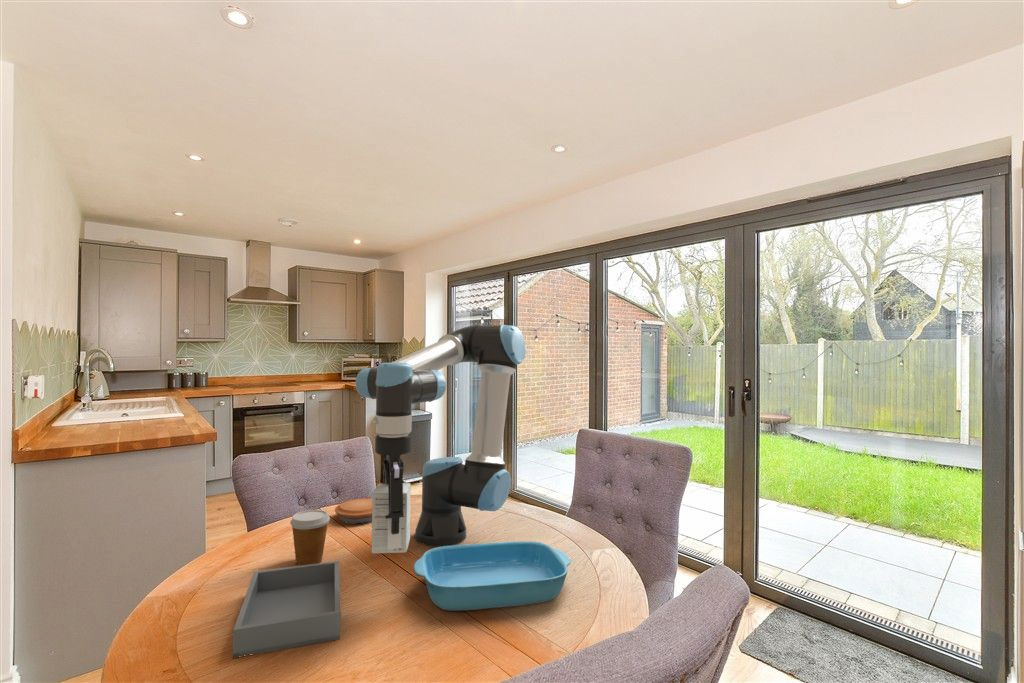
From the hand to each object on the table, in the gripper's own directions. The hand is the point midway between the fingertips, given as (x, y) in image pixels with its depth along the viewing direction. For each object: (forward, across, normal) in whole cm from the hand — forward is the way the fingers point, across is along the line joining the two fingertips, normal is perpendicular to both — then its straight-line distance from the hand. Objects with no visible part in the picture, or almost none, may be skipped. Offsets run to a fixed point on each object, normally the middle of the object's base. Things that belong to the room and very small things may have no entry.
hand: (391, 539), depth 103 cm
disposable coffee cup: (+15, -30, -17) cm, 38 cm away
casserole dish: (+15, -1, +24) cm, 28 cm away
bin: (+14, -4, -19) cm, 24 cm away
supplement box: (+2, 0, 0) cm, 2 cm away
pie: (+15, -60, -3) cm, 62 cm away
